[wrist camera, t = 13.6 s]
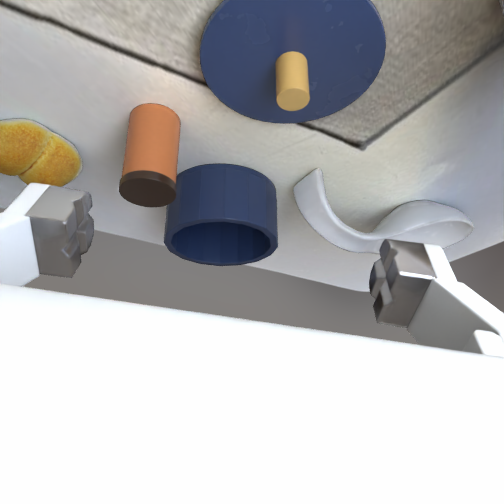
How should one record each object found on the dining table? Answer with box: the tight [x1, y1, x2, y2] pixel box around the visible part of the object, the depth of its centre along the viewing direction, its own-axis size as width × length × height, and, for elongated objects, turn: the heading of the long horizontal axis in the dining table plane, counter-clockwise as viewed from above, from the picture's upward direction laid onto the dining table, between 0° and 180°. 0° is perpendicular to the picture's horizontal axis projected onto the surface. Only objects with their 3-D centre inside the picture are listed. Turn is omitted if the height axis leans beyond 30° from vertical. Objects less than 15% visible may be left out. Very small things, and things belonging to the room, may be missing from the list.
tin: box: [164, 164, 278, 266], centre depth 53 cm, size 13×13×7 cm
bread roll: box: [0, 118, 83, 187], centre depth 45 cm, size 8×9×4 cm
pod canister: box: [119, 104, 181, 207], centre depth 41 cm, size 5×5×8 cm
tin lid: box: [200, 0, 386, 123], centre depth 34 cm, size 14×14×5 cm
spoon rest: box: [293, 168, 474, 254], centre depth 55 cm, size 24×12×7 cm, turn 61°
